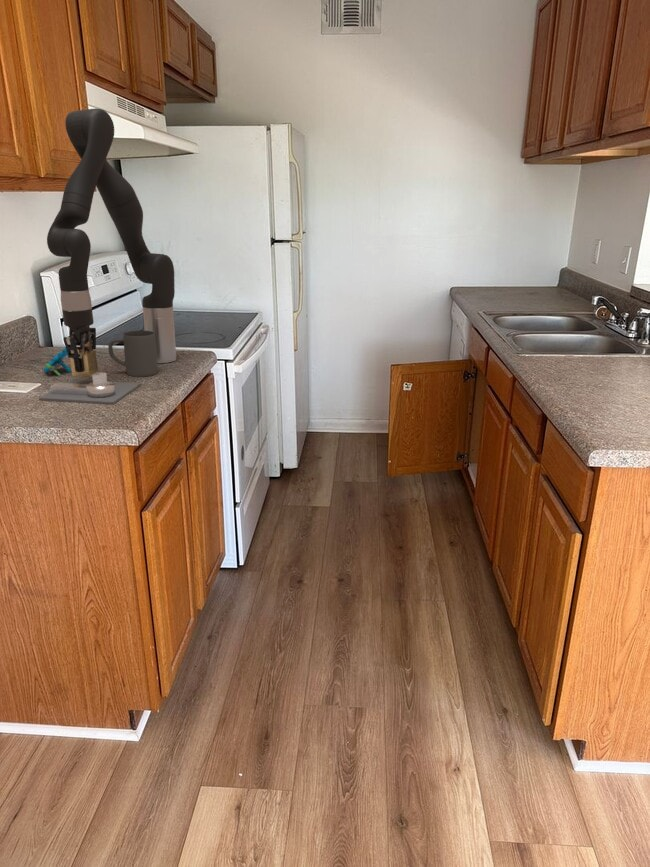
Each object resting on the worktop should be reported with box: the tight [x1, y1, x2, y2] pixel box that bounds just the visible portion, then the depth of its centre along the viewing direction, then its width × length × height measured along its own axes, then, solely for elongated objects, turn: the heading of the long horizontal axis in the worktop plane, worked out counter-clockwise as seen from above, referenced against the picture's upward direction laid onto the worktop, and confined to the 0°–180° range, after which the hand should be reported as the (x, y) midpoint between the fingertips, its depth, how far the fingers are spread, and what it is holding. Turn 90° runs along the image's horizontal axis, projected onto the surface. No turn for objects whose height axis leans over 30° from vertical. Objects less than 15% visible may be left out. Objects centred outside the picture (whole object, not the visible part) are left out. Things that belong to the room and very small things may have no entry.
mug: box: [108, 329, 159, 378], centre depth 189 cm, size 14×9×12 cm
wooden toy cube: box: [69, 349, 99, 377], centre depth 176 cm, size 5×5×6 cm
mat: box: [38, 379, 142, 405], centre depth 171 cm, size 18×20×1 cm
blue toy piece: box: [43, 347, 72, 377], centre depth 190 cm, size 11×6×10 cm
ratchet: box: [49, 371, 115, 398], centre depth 168 cm, size 7×16×6 cm, turn 83°
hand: (84, 368), depth 176 cm, fingers closed on wooden toy cube, 5 cm apart
